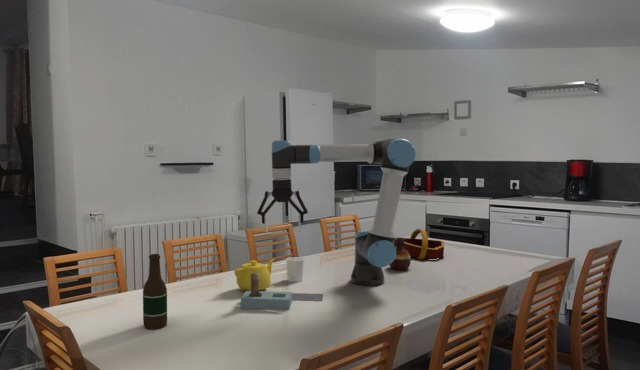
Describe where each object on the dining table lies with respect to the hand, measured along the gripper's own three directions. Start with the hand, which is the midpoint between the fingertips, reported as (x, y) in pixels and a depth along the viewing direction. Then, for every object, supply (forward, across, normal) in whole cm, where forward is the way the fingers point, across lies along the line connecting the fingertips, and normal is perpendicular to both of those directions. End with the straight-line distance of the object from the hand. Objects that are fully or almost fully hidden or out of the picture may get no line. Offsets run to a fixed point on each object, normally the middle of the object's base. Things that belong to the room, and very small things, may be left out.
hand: (283, 231), depth 205 cm
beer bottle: (+25, +40, +39) cm, 61 cm away
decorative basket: (+29, -69, -84) cm, 113 cm away
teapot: (+26, +13, -6) cm, 29 cm away
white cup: (+26, -3, -21) cm, 34 cm away
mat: (+26, -9, +5) cm, 28 cm away
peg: (+26, +10, +15) cm, 31 cm away
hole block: (+26, +5, +15) cm, 30 cm away
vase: (+28, -54, -48) cm, 77 cm away
